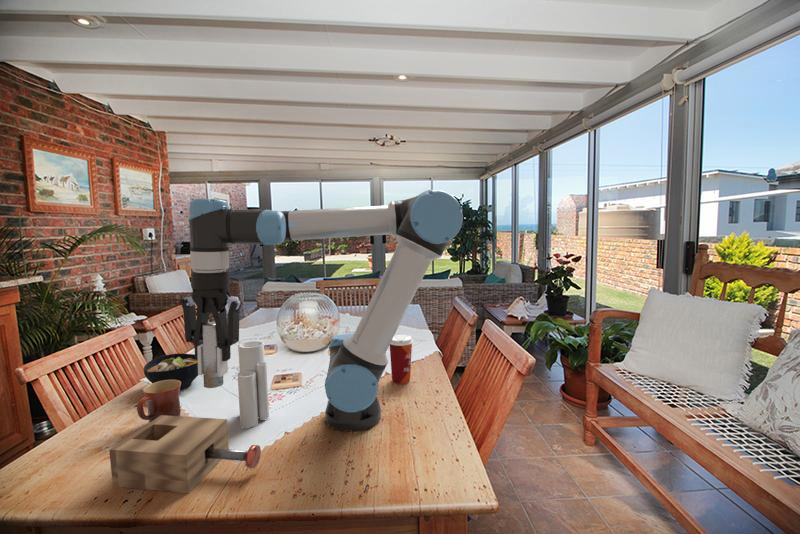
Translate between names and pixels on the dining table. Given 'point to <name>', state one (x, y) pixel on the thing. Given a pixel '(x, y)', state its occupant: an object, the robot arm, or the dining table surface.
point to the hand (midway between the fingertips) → (213, 373)
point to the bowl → (173, 369)
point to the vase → (252, 383)
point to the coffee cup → (401, 358)
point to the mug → (160, 400)
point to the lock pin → (236, 455)
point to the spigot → (210, 355)
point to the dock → (168, 453)
